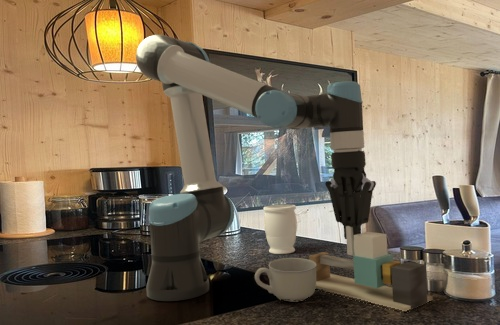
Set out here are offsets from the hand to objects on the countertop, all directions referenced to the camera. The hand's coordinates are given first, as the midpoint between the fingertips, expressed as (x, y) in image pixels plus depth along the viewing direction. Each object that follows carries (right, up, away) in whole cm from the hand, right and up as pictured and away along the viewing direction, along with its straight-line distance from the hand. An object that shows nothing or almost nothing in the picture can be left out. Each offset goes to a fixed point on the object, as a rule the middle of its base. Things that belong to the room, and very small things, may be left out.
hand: (353, 253), depth 107 cm
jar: (-13, -9, +46) cm, 49 cm away
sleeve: (+4, -5, -4) cm, 8 cm away
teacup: (-15, -10, -2) cm, 18 cm away
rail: (+2, -9, -2) cm, 9 cm away
